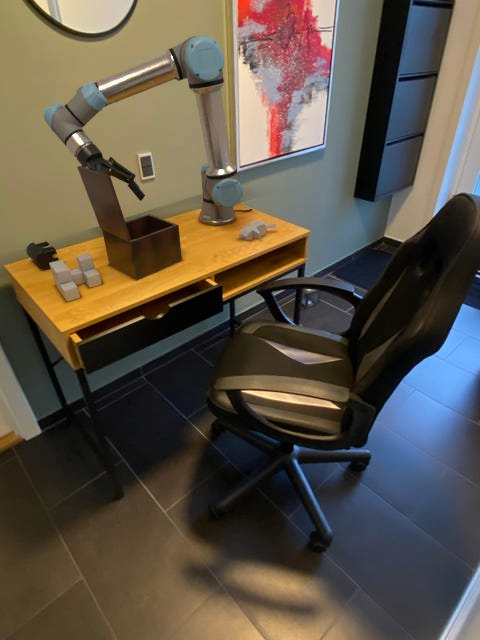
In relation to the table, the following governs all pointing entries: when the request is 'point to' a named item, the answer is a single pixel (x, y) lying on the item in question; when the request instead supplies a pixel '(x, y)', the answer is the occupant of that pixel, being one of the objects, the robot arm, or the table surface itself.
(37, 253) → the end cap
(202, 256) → the table surface
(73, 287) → the grey cube cluster
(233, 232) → the table surface
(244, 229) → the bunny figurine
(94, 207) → the chest lid
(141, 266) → the chest
